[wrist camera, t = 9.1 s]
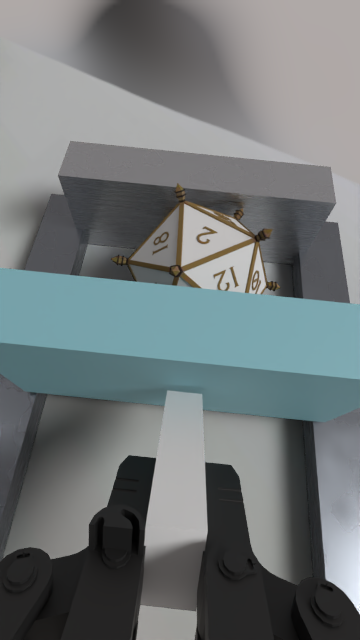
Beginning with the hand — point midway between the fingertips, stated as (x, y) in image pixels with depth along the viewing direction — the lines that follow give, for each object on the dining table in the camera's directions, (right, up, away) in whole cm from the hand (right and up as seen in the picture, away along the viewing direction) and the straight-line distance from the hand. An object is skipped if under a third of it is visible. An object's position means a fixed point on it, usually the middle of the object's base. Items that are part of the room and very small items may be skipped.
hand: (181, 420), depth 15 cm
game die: (+1, +5, +8) cm, 10 cm away
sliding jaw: (0, +1, +4) cm, 4 cm away
